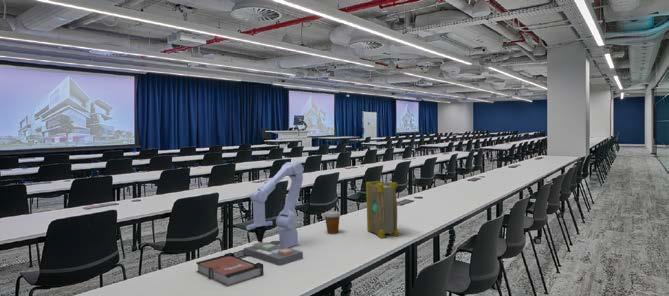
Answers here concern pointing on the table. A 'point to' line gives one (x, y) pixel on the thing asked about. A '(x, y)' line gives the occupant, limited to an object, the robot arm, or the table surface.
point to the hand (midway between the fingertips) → (260, 241)
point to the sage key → (268, 247)
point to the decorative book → (381, 208)
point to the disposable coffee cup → (332, 221)
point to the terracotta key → (285, 252)
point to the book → (229, 269)
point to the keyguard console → (273, 255)
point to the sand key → (259, 244)
